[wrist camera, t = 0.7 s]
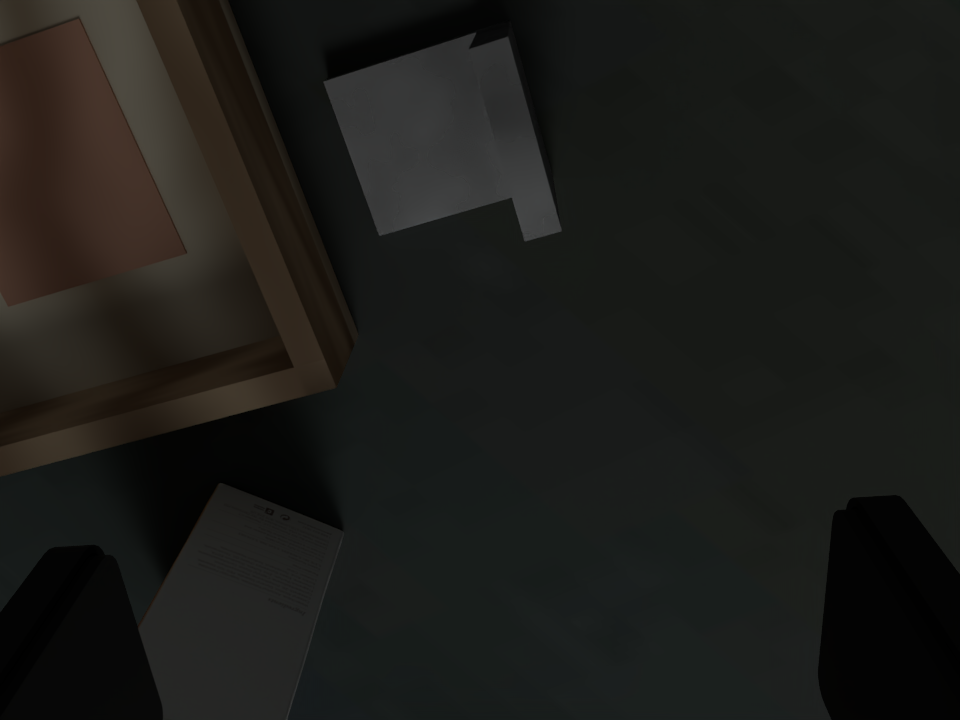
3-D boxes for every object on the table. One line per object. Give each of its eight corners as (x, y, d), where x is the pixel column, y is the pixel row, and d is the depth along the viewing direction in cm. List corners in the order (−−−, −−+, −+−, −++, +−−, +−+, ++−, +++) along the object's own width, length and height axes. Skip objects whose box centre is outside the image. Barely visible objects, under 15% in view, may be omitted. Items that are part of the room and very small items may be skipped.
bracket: (509, 19, 32) (508, 36, 25) (553, 178, 34) (561, 231, 28) (328, 77, 33) (283, 108, 26) (382, 228, 35) (353, 289, 29)
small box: (218, 477, 40) (95, 694, 29) (347, 529, 41) (280, 760, 29) (168, 603, 44) (37, 846, 32) (289, 648, 44) (206, 901, 33)
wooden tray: (175, -135, 30) (114, -151, 26) (358, 334, 37) (336, 387, 33) (-218, 12, 33) (-337, 21, 28) (24, 425, 40) (-40, 487, 35)
